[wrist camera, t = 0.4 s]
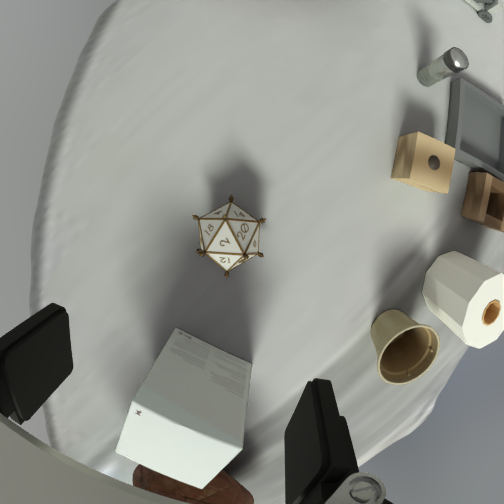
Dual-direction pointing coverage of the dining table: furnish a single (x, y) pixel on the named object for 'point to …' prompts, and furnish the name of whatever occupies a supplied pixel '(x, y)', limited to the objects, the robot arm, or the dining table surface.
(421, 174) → the oak block
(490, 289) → the toilet paper
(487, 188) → the square wooden socket
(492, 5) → the toy car
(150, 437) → the supplement box
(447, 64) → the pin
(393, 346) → the flower pot
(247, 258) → the game die
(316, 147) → the dining table surface
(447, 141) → the tray
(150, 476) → the pottery vessel
